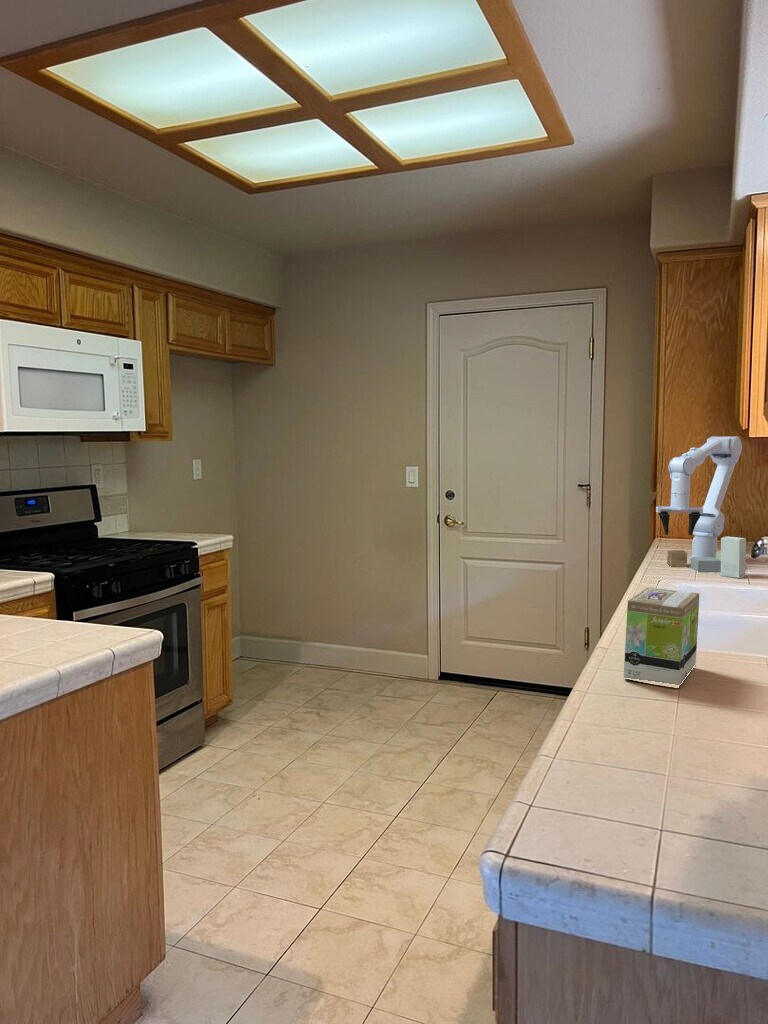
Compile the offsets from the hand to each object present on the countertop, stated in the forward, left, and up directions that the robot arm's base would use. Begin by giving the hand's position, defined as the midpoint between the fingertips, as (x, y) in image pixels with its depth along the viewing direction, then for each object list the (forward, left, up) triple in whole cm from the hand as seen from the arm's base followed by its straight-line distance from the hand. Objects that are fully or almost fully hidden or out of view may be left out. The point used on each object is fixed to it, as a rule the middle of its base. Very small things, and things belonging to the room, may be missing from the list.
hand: (678, 534), depth 249 cm
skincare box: (+17, +12, -11) cm, 24 cm away
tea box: (+117, -33, -11) cm, 122 cm away
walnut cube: (0, 0, -11) cm, 11 cm away
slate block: (+7, +7, -11) cm, 15 cm away
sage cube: (+2, +15, -11) cm, 18 cm away
